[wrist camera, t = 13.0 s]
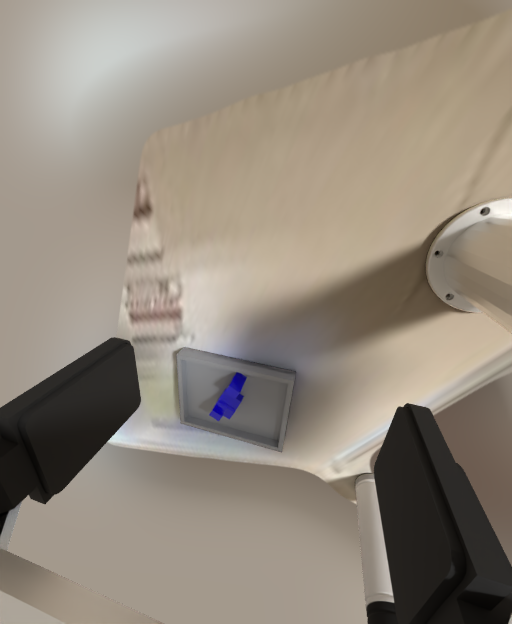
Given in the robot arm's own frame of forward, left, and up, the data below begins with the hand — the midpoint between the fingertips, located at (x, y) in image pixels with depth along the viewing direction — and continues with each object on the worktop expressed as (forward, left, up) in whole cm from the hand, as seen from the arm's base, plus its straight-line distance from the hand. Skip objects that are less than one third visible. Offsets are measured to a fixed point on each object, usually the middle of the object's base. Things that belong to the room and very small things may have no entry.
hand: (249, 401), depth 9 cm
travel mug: (-18, +40, -28) cm, 52 cm away
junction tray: (+9, +27, -28) cm, 40 cm away
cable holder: (+9, +25, -28) cm, 38 cm away
